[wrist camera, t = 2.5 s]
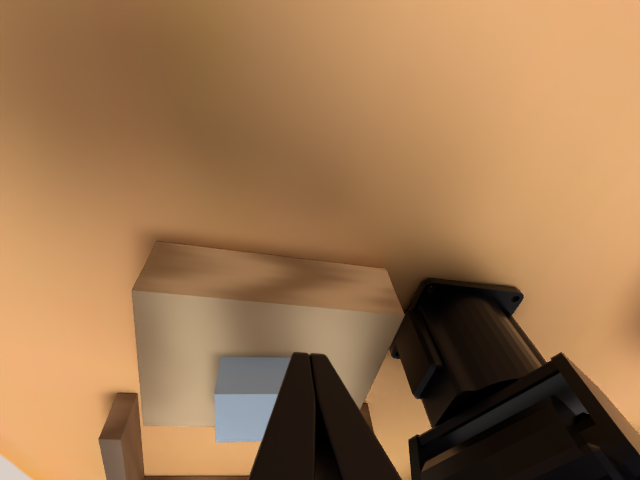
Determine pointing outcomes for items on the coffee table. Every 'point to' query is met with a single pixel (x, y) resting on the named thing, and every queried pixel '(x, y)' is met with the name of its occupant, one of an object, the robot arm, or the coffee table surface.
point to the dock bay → (126, 446)
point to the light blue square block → (246, 396)
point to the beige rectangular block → (251, 322)
